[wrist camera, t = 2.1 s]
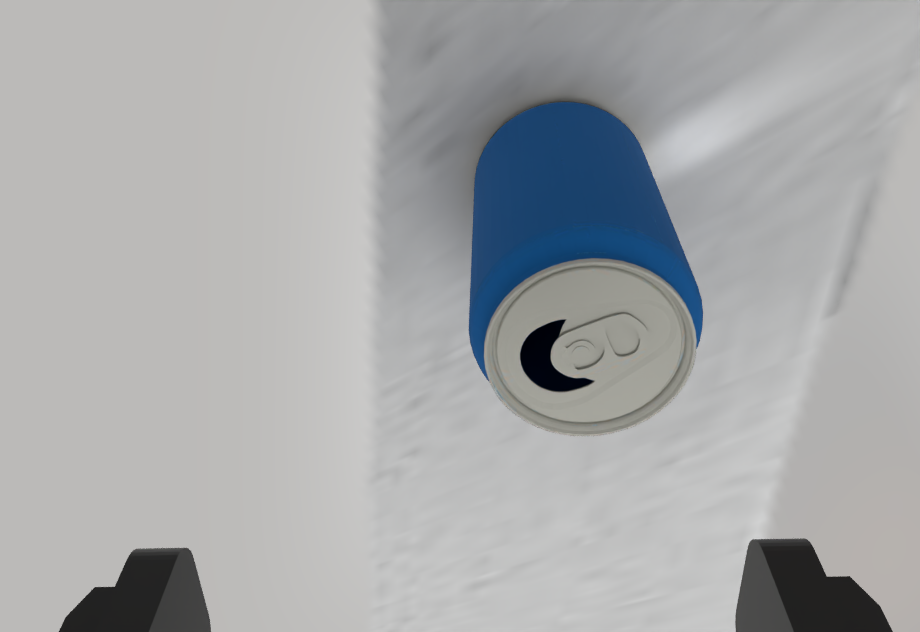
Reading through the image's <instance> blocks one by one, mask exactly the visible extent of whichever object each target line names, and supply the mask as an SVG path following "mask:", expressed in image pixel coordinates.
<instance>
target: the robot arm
mask: <svg viewBox="0 0 920 632" xmlns="http://www.w3.org/2000/svg"><path fill="white" fill-rule="evenodd" d="M59 632H211V627H210V619H209V614H208V611H207V607H206V603H205V599H204V596H203V592H202V588H201V584H200V581H199V577H198V573H197V570H196V566H195V562H194V558H193V555H192V553H191V551H190V550H189V549H188V548H161V549H160V548H159V549H158V548H157V549H156V548H155V549H135V550H134V551H133V552H131V554H130V555H129V557H128V559H127V561H126V563H125V565H124V568H123V570H122V572H121V574H120V577H119V579H118V581H117V583H116V586H115V587H95V588H94V589H93V590H92V591H91V592H90V593H89V594H88V595H87V596H86V597H85V598H84V599H83V600H82V601H81V602H80V603H79V604H78V605H77V606H76V607H75V608H74V609H73V610H72V611H71V612H70V613H69V615H68V616H67V617H66V618H65V620H64V622H63V624H62V627H61V628H60V631H59ZM736 632H893V631H892V630H891V627H890V625H889V624H888V622H887V619H886V617H885V615H884V613H883V611H882V609H881V607H880V606H879V605H878V604H877V603H876V602H875V601H874V600H873V599H872V598H871V597H870V596H869V595H868V594H867V593H866V592H865V591H864V590H863V589H862V588H861V587H860V586H859V585H858V584H857V583H856V582H855V581H854V580H853V579H852V578H851V577H850V576H847V577H827V576H826V574H825V572H824V570H823V568H822V565H821V563H820V561H819V559H818V557H817V554H816V553H815V550H814V548H813V546H812V545H811V543H810V542H809V541H808V540H807V539H755V540H751V541H750V543H749V546H748V550H747V555H746V560H745V566H744V571H743V576H742V582H741V587H740V593H739V598H738V603H737V609H736Z"/></svg>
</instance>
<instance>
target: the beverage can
mask: <svg viewBox="0 0 920 632" xmlns="http://www.w3.org/2000/svg"><path fill="white" fill-rule="evenodd" d="M702 322H703V309H702V300H701V296H700V293H699V289H698V286H697V284H696V281H695V279H694V276H693V274H692V271H691V269H690V266H689V264H688V261H687V259H686V256H685V254H684V251H683V249H682V246H681V244H680V241H679V239H678V237H677V234H676V232H675V229H674V227H673V224H672V222H671V219H670V217H669V214H668V212H667V209H666V207H665V204H664V202H663V199H662V197H661V194H660V192H659V189H658V187H657V185H656V182H655V180H654V177H653V175H652V172H651V170H650V167H649V165H648V162H647V160H646V157H645V155H644V152H643V150H642V148H641V146H640V144H639V142H638V140H637V139H636V137H635V136H634V134H633V133H632V132H631V131H630V130H629V129H628V127H627V126H626V125H624V124H623V123H622V122H621V121H620V120H619V119H617V118H616V117H614V116H613V115H611V114H610V113H608V112H606V111H604V110H601V109H599V108H597V107H594V106H590V105H587V104H582V103H576V102H556V103H549V104H544V105H540V106H537V107H534V108H531V109H528V110H526V111H524V112H522V113H520V114H518V115H517V116H515V117H514V118H512V119H511V120H509V121H508V122H507V123H505V124H504V125H503V126H502V127H501V128H500V129H499V130H498V131H497V132H496V133H495V134H494V135H493V137H492V138H491V139H490V141H489V142H488V144H487V145H486V147H485V148H484V150H483V153H482V155H481V157H480V159H479V162H478V165H477V169H476V175H475V187H474V212H473V238H472V263H471V288H470V313H469V335H470V343H471V346H472V350H473V353H474V356H475V358H476V361H477V363H478V365H479V367H480V369H481V371H482V372H483V374H484V375H485V377H486V378H487V380H488V381H489V382H490V384H491V386H492V388H493V390H494V391H495V393H496V394H497V396H498V398H499V399H500V400H501V401H502V402H503V403H504V405H505V406H506V407H507V408H508V409H509V410H511V411H512V412H513V413H514V414H515V415H517V416H518V417H520V418H521V419H523V420H524V421H526V422H528V423H530V424H532V425H534V426H536V427H538V428H541V429H544V430H546V431H550V432H554V433H558V434H563V435H570V436H598V435H604V434H610V433H614V432H618V431H622V430H625V429H628V428H630V427H633V426H636V425H638V424H640V423H642V422H644V421H646V420H648V419H649V418H651V417H652V416H654V415H655V414H657V413H658V412H660V411H661V410H662V409H663V408H664V407H666V406H667V405H668V404H669V403H670V402H671V401H672V400H673V399H674V398H675V397H676V396H677V394H678V393H679V392H680V390H681V389H682V388H683V386H684V385H685V383H686V381H687V379H688V377H689V375H690V373H691V370H692V367H693V365H694V361H695V356H696V349H697V347H698V344H699V341H700V336H701V331H702Z"/></svg>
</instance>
